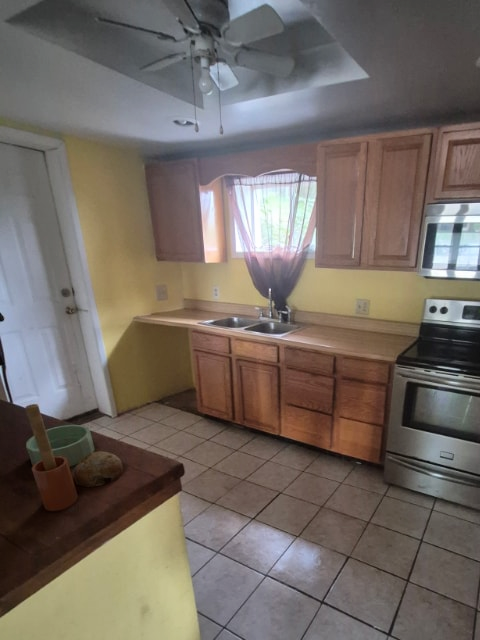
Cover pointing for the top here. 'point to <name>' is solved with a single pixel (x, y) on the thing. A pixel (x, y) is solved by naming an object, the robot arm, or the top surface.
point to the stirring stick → (41, 436)
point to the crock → (55, 485)
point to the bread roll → (97, 469)
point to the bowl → (65, 443)
